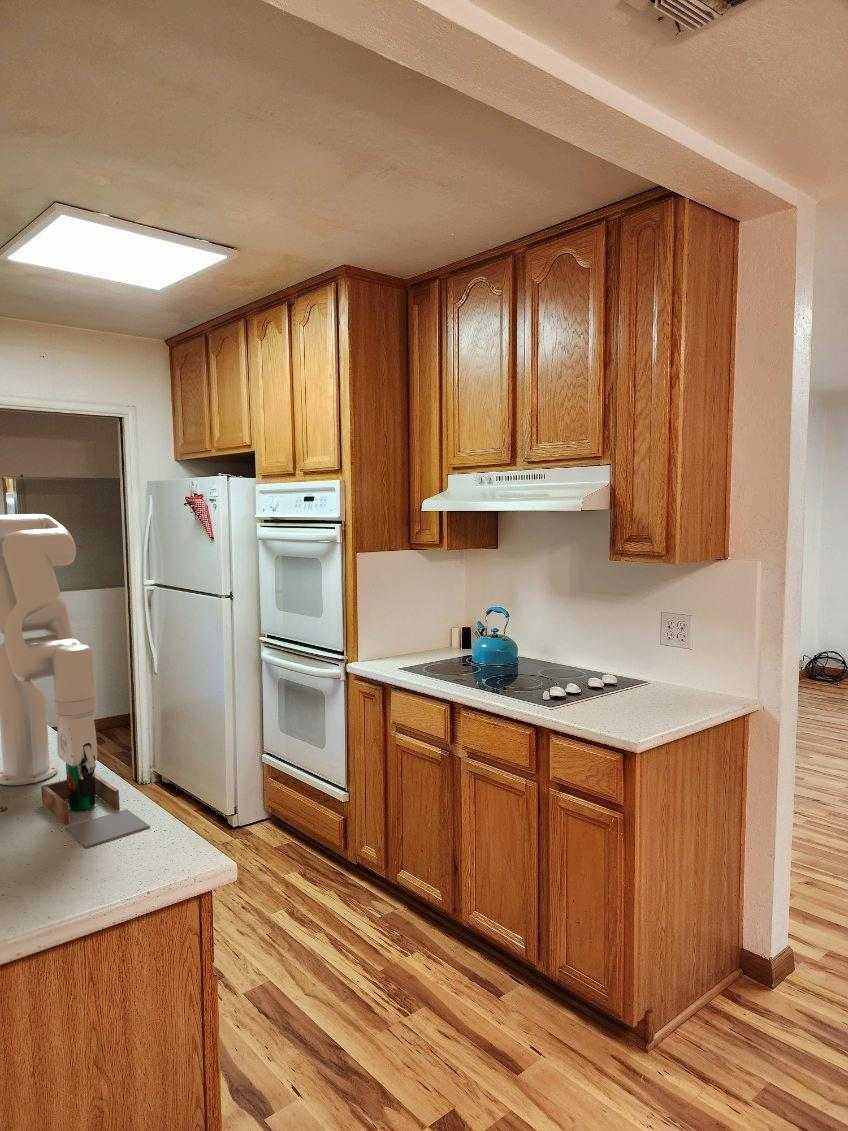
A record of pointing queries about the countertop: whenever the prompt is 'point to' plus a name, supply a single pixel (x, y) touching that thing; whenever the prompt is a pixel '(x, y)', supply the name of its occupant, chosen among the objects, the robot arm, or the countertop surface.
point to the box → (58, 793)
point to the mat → (106, 828)
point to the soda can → (72, 787)
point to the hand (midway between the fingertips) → (81, 791)
